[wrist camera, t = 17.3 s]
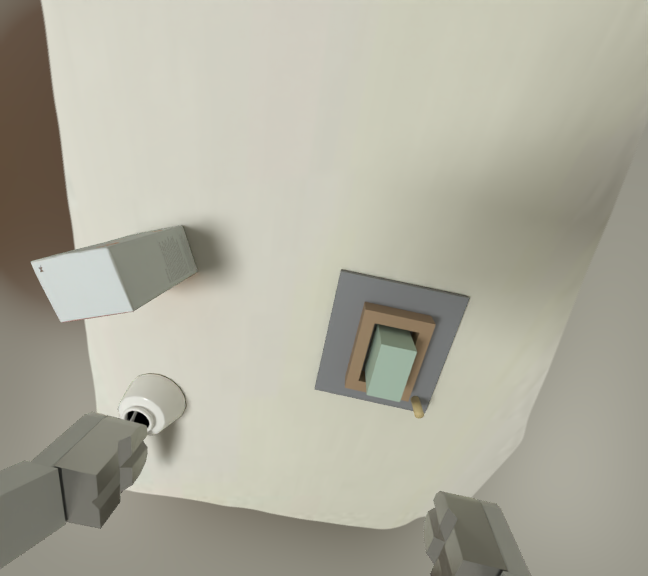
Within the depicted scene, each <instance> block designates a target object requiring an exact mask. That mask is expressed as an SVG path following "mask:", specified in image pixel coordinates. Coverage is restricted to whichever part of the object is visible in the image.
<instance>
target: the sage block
mask: <svg viewBox="0 0 648 576" xmlns="http://www.w3.org/2000/svg"><path fill="white" fill-rule="evenodd" d="M416 354H417V350H416V347H415V345H414V342H413V339H412V337H411V334H410V331H409V330H404V329H399V328H395V327H390V326H385V325H381V324H376V328H375V331H374V335H373V339H372V342H371V346H370V349H369V353H368V356H367V360H366V364H365V377H366V394H367V395H369V396H374V397H378V398H383V399H387V400H392V401H397V402H400V400H401V397H402V394H403V392H404V389H405V386H406V383H407V380H408V377H409V374H410V371H411V368H412V365H413V362H414V359H415V357H416Z"/></svg>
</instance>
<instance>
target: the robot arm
mask: <svg viewBox="0 0 648 576" xmlns="http://www.w3.org/2000/svg"><path fill="white" fill-rule="evenodd" d="M146 436H147V426H146V425H143V424H139V423H135V422H131V421H128V420H124V419H120V418H116V417H112V416H108V415H104V414H99V413H95V412H90V413H88V414H85V415H84V416H83V417H81V418H80V419H79V420H78V421H77V422H76V423H75V424H73V425H72V426H71V427H70V428H69V429H68V430H66V431H65V432H64V433H63V434H62V435H61V436H60V437H58V438H57V439H56V440H55V441H54V442H53V443H52V444H50V445H49V446H48V447H47V448H46V449H45V450H43V451H42V452H41V453H40V454H39V455H38V456H37V457H35V458H34V459H33V460H32V461H31V462H30V461H22V462H20V463H18V464H15V465H13V466H11V467H9V468H6V469H3V470H1V471H0V569H1V568H3V567H4V566H5V565H7V564H8V563H10V562H11V561H13V560H14V559H16V558H17V557H19V556H20V555H22V554H23V553H25V552H26V551H27V550H29V549H30V548H32V547H33V546H35V545H36V544H38V543H39V542H41V541H42V540H44V539H45V538H46V537H48V536H49V535H51V534H52V533H53V532H55V531H57V530H58V529H59V528H61V527H62V526H64V525H65V524H66V522H69V523H75V524H80V525H85V526H90V527H95V528H100V529H101V527H102V526H103V525H104V523H105V522H106V521H107V519H108V518H109V517H110V515H111V514H112V512H113V511H114V510H115V508H116V507H117V506H118V504H119V503H120V498H121V496H120V495H121V491H123V490H125V489H126V488H128V487H130V486H132V485H133V483H134V482H135V481H136V479H137V478H138V476H139V475H140V473H141V471H142V469H143V467H144V464H145V462H146V458H147V446H146V445H145V443H144V442H143V440H144V439H145V437H146ZM433 501H434V505H435V508H433V509H431V510H430V511H428V513H427V515H426V518H425V522H424V543H425V549H426V553H427V555H428V556H429V558H430V559H431V560H432V562H433V563H434V566H433V568H432V571H431V573H430V575H431V576H531V574H530V572H529V570H528V567H527V565H526V563H525V561H524V559H523V556H522V555H521V552H520V550H519V548H518V545H517V543H516V541H515V539H514V537H513V534H512V532H511V530H510V528H509V526H508V523H507V521H506V519H505V517H504V515H503V513H502V510H501V508H500V507H499V506H498V505H497V504H495V503H491V502H487V501H482V500H476V499H475V498H470V497H466V496H461V495H456V494H451V493H447V492H442V491H439V492H438V493H436V495H435V498H434V500H433Z"/></svg>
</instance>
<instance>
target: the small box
mask: <svg viewBox="0 0 648 576" xmlns="http://www.w3.org/2000/svg"><path fill="white" fill-rule="evenodd" d="M31 264H32V266H33V269H34V271H35V273H36V275H37V277H38V279H39V281H40V283H41V285H42V287H43V289H44V291H45V293H46V295H47V297H48V299H49V301H50V303H51V304H52V306H53V308H54V310H55V312H56V314H57V316H58V318H59V320H60V321H61V322H69V321H76V320H81V319H89V318H95V317H102V316H109V315H115V314H121V313H127V312H133V311H135V310H136V309H138V308H139V307H141V306H143V305H144V304H146V303H148V302H149V301H151V300H152V299H154V298H156V297H157V296H159V295H161V294H162V293H164V292H165V291H167V290H169V289H170V288H172V287H174V286H175V285H177V284H178V283H180V282H182V281H183V280H185V279H187V278H188V277H190V276H191V275H193V274H195V273H196V272H197V267H196V265H195V262H194V258H193V256H192V253H191V250H190V246H189V243H188V240H187V237H186V234H185V231H184V229H183V226H175V227H170V228H164V229H159V230H154V231H149V232H144V233H139V234H134V235H129V236H126V237H122V238H118V239H115V240H111V241H108V242H104V243H100V244H96V245H92V246H88V247H84V248H80V249H76V250H72V251H68V252H65V253H61V254H57V255H53V256H49V257H45V258H41V259H38V260H34V261H31Z"/></svg>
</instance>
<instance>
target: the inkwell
mask: <svg viewBox="0 0 648 576" xmlns="http://www.w3.org/2000/svg"><path fill="white" fill-rule="evenodd" d="M185 407H186V405H185V397H184V395H183V393H182V391H181V389H180V388H179V387H178V386H177V385H176V384H175V383H174V382H173V381H171V380H170V379H168V378H166V377H164V376H161V375H157V374H145V375H141V376H138V377H137V378H135V379H134V380H133V381H132V382H131V384H130V385H129V387H128V389H127V390H126V392H125V394H124V396H123V397H122V399H121V401H120V403H119V407H118V413H119V417H120V419H124V420H128V421H131V422H135V423H139V424H143V425H146V426H147V435H154V434H158V433H159V432H161V431H162V430H164V429H165V428H166V427H167V426H169V425H170V424H171V423H173V422H174V421H175V420H176V419H178V418H179V417H180V416H181V415H182V414H183V412H184V409H185ZM145 438H146V437H145ZM143 442H144V441H143ZM121 493H122V491H121Z"/></svg>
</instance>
